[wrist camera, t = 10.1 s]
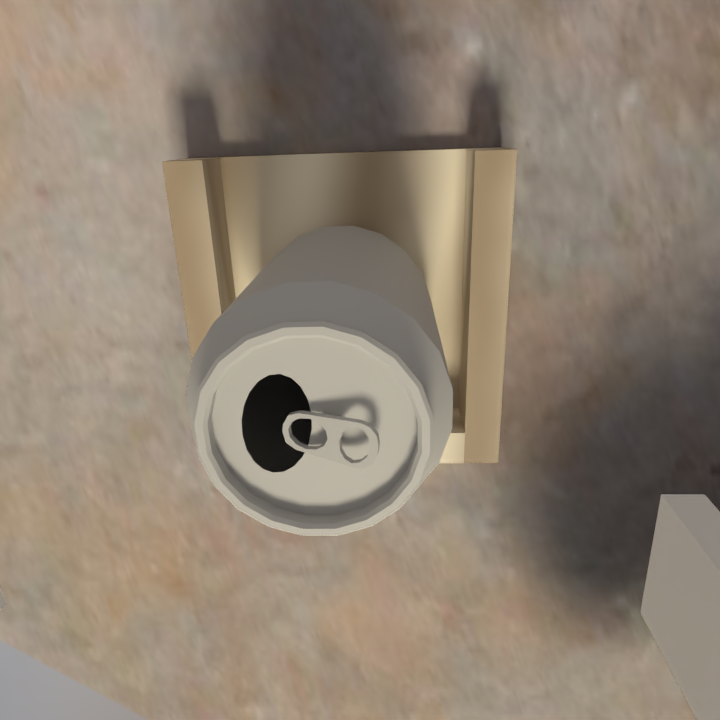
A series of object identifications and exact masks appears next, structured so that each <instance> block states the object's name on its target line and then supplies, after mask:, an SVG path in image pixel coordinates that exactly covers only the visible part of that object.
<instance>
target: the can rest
mask: <svg viewBox="0 0 720 720" xmlns="http://www.w3.org/2000/svg"><path fill="white" fill-rule="evenodd" d="M516 162H517V149H511V148H504V147H494V148H465V149H436V150H407V151H379V152H350V153H321V154H292V155H264V156H235V157H206V158H185V159H178V160H170V161H163V162H162V164H163V171H164V177H165V184H166V191H167V197H168V204H169V211H170V217H171V224H172V231H173V237H174V244H175V251H176V257H177V264H178V271H179V277H180V284H181V290H182V297H183V304H184V310H185V317H186V324H187V330H188V337H189V344H190V350H191V357H192V358H193V356H194V354H195V353H196V351H197V349H198V348H199V346H200V344H201V342H202V341H203V339H204V337H205V336H206V334H207V332H208V331H209V329H210V327H211V326H212V324H213V323H214V322H215V321H216V320H217V318H218V317H219V316H220V315H221V314H222V313H223V312H224V311H225V310H226V309H227V308H228V307H229V305H230V304H231V303H232V302H233V301H234V300H235V299H236V298H237V297H238V296H239V295H240V294H241V292H242V291H243V290H244V289H245V288H246V287H247V286H248V285H249V284H250V283H251V282H252V281H253V279H254V278H255V277H256V276H257V275H258V274H259V273H260V272H261V271H262V270H263V269H264V268H265V266H266V265H267V264H268V263H269V262H270V261H271V260H272V259H273V258H274V257H275V256H276V255H277V254H278V253H279V252H280V251H281V250H282V249H284V248H285V247H286V246H287V245H289V244H290V243H291V242H292V241H293V240H295V239H296V238H297V237H298V236H301V235H304V234H306V233H309V232H312V231H314V230H317V229H320V228H322V227H328V226H356V227H360V228H363V229H367V230H370V231H374V232H377V233H381V234H382V235H384V236H385V237H387V238H388V239H390V240H391V241H393V242H394V243H396V244H397V245H398V246H400V247H401V248H403V249H404V250H405V251H406V252H407V253H408V255H409V256H410V257H411V259H412V260H413V261H414V263H415V264H416V265H417V267H418V268H419V269H420V270H421V272H422V274H423V277H424V280H425V283H426V286H427V289H428V292H429V295H430V298H431V302H432V306H433V310H434V315H435V319H436V323H437V327H438V331H439V335H440V339H441V343H442V347H443V351H444V355H445V359H446V364H447V368H448V372H449V376H450V380H451V384H452V388H453V419H452V431H451V433H450V436H449V438H448V441H447V444H446V446H445V449H444V451H443V454H442V457H441V459H440V462H439V463H498V456H499V440H500V424H501V407H502V391H503V375H504V358H505V342H506V326H507V309H508V293H509V277H510V260H511V244H512V228H513V211H514V195H515V179H516Z"/></svg>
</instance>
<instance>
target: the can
mask: <svg viewBox="0 0 720 720" xmlns="http://www.w3.org/2000/svg"><path fill="white" fill-rule="evenodd" d="M186 400H187V406H188V412H189V418H190V424H191V430H192V433H193V435H194V440H195V446H196V452H197V456H198V458H199V460H200V461H201V463H202V465H203V467H204V469H205V471H206V473H207V475H208V476H209V478H210V480H211V482H212V484H213V485H214V486H215V487H216V488H217V489H218V490H219V491H220V492H221V493H222V494H223V495H224V496H225V497H226V498H227V499H228V500H229V501H230V502H231V503H232V504H233V505H234V506H235V507H236V508H237V509H238V510H239V511H241V512H243V513H245V514H246V515H248V516H250V517H252V518H254V519H255V520H257V521H259V522H261V523H263V524H264V525H266V526H268V527H271V528H275V529H279V530H282V531H286V532H290V533H294V534H298V535H302V536H339V535H343V534H346V533H350V532H353V531H357V530H361V529H364V528H368V527H371V526H373V525H375V524H376V523H378V522H380V521H381V520H383V519H385V518H386V517H388V516H389V515H391V514H393V513H394V512H396V511H397V510H399V509H401V507H402V506H403V505H404V504H405V503H406V502H407V500H408V499H409V498H410V497H411V496H412V494H413V493H414V492H415V491H416V490H417V489H418V487H419V486H420V485H421V484H422V483H423V482H424V480H425V479H426V478H427V477H428V476H429V474H430V473H431V472H432V471H433V470H434V468H435V467H436V466H437V465H438V464H439V462H440V459H441V457H442V454H443V451H444V449H445V446H446V444H447V441H448V438H449V436H450V433H451V431H452V419H453V388H452V384H451V380H450V376H449V372H448V368H447V364H446V359H445V355H444V351H443V347H442V343H441V339H440V335H439V331H438V327H437V323H436V319H435V315H434V310H433V306H432V302H431V298H430V295H429V292H428V289H427V286H426V283H425V280H424V277H423V274H422V272H421V270H420V269H419V268H418V267H417V265H416V264H415V263H414V261H413V260H412V259H411V257H410V256H409V255H408V253H407V252H406V251H405V250H404V249H403V248H401V247H400V246H398V245H397V244H396V243H394V242H393V241H391V240H390V239H388V238H387V237H385V236H384V235H382V234H381V233H377V232H374V231H370V230H367V229H363V228H360V227H356V226H328V227H322V228H320V229H317V230H314V231H312V232H309V233H306V234H304V235H301V236H298V237H297V238H296V239H295V240H293V241H292V242H291V243H290V244H289V245H287V246H286V247H285V248H284V249H282V250H281V251H280V252H279V253H278V254H277V255H276V256H275V257H274V258H273V259H272V260H271V261H270V262H269V263H268V264H267V265H266V266H265V268H264V269H263V270H262V271H261V272H260V273H259V274H258V275H257V276H256V277H255V278H254V279H253V281H252V282H251V283H250V284H249V285H248V286H247V287H246V288H245V289H244V290H243V291H242V292H241V294H240V295H239V296H238V297H237V298H236V299H235V300H234V301H233V302H232V303H231V304H230V305H229V307H228V308H227V309H226V310H225V311H224V312H223V313H222V314H221V315H220V316H219V317H218V318H217V320H216V321H215V322H214V323H213V324H212V326H211V327H210V329H209V331H208V332H207V334H206V336H205V337H204V339H203V341H202V342H201V344H200V346H199V348H198V349H197V351H196V353H195V354H194V356H193V358H192V363H191V369H190V374H189V380H188V385H187V391H186Z"/></svg>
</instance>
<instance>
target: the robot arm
mask: <svg viewBox="0 0 720 720" xmlns="http://www.w3.org/2000/svg"><path fill="white" fill-rule="evenodd" d="M5 605H6V602H5V599H4V596H3V593H2V590H1V586H0V611H1V609H2V608H3V607H4V606H5ZM640 613H641V615H642V617H643V619H644V621H645V622H646V624H647V626H648V628H649V630H650V632H651V634H652V636H653V638H654V640H655V642H656V643H657V645H658V647H659V649H660V651H661V653H662V655H663V657H664V659H665V661H666V663H667V665H668V666H669V668H670V670H671V672H672V674H673V676H674V678H675V680H676V682H677V684H678V686H679V687H680V689H681V691H682V693H683V695H684V697H685V699H686V701H687V703H688V705H689V707H690V708H691V710H692V712H693V714H694V716H695V718H696V720H720V511H719V510H718V509H717V508H716V507H715V506H714V504H713V503H712V502H711V501H710V500H709V499H708V498H707V496H706V495H705V494H661V498H660V503H659V509H658V515H657V521H656V526H655V532H654V538H653V543H652V549H651V555H650V560H649V566H648V572H647V577H646V583H645V589H644V594H643V600H642V606H641V611H640Z"/></svg>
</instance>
